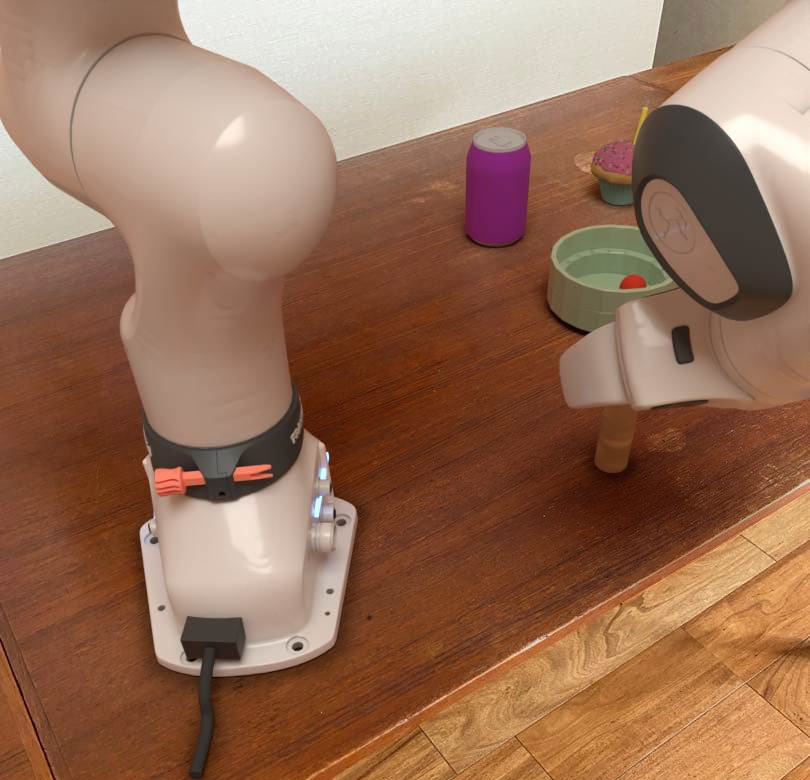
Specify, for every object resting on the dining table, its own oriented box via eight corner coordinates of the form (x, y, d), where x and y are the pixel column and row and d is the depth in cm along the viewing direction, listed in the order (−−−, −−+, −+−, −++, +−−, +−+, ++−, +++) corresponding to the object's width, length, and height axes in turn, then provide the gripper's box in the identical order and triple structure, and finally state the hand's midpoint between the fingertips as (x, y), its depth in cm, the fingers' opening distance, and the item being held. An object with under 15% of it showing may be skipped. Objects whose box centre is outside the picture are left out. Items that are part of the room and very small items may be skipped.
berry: (625, 292, 94) (615, 306, 97) (652, 294, 94) (641, 308, 97) (624, 268, 95) (614, 283, 97) (650, 270, 95) (639, 285, 98)
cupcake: (629, 178, 119) (644, 85, 110) (665, 204, 114) (684, 109, 105) (575, 191, 117) (585, 98, 108) (608, 218, 111) (622, 122, 103)
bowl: (691, 335, 93) (704, 285, 89) (562, 346, 93) (568, 297, 88) (652, 267, 103) (662, 219, 99) (535, 277, 102) (539, 229, 98)
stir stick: (630, 472, 79) (663, 321, 67) (598, 474, 79) (625, 323, 67) (622, 450, 81) (653, 300, 69) (591, 453, 81) (616, 302, 69)
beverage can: (452, 233, 110) (453, 136, 101) (497, 214, 113) (502, 119, 104) (492, 256, 106) (496, 158, 97) (538, 236, 109) (546, 138, 100)
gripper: (911, 257, 53) (782, 311, 67) (597, 306, 50) (530, 352, 64) (927, 358, 53) (795, 392, 67) (615, 413, 51) (545, 436, 64)
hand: (664, 373), depth 66 cm, fingers open, 8 cm apart
